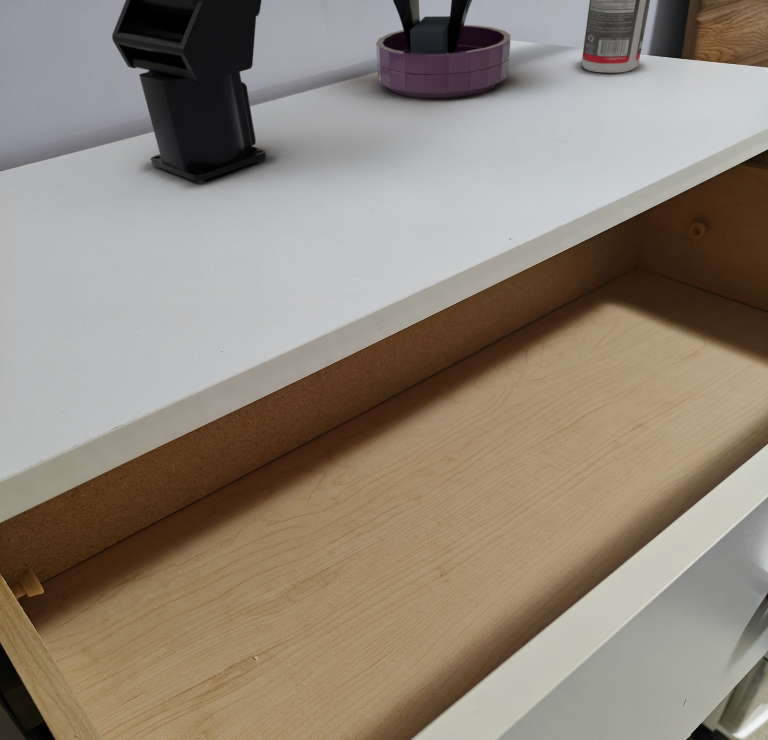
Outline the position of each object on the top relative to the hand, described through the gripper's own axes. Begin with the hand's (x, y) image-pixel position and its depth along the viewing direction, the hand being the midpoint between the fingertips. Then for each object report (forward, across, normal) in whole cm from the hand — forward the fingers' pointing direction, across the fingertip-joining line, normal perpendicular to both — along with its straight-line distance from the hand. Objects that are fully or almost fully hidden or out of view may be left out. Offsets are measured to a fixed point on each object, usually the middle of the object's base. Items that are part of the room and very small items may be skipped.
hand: (433, 61), depth 64 cm
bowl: (+2, +1, -1) cm, 2 cm away
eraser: (+1, 0, 0) cm, 1 cm away
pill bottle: (+2, +16, +6) cm, 17 cm away
